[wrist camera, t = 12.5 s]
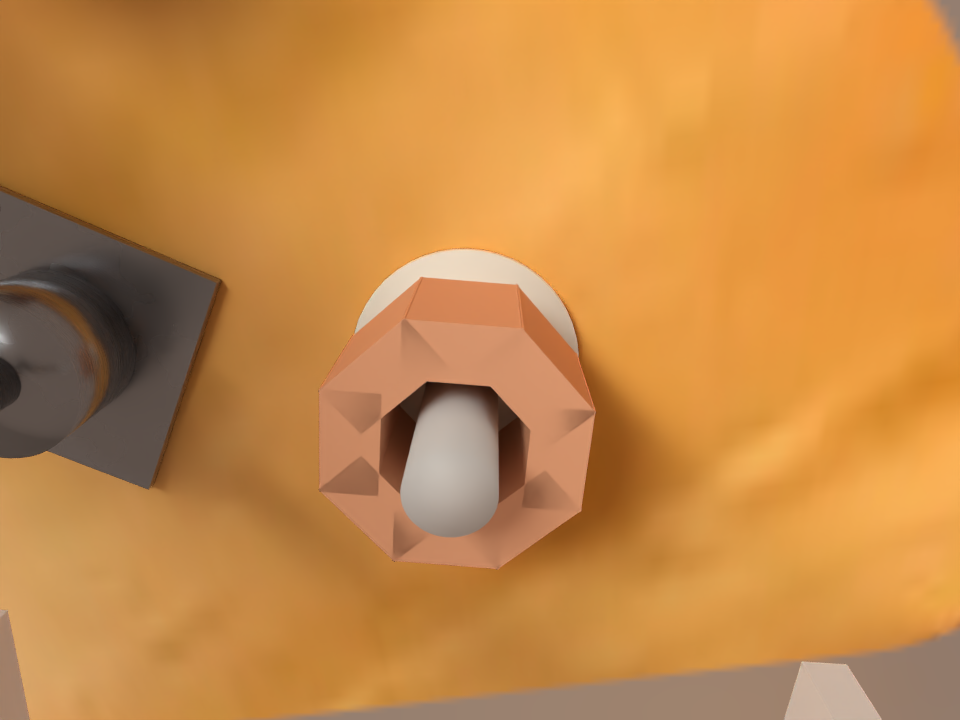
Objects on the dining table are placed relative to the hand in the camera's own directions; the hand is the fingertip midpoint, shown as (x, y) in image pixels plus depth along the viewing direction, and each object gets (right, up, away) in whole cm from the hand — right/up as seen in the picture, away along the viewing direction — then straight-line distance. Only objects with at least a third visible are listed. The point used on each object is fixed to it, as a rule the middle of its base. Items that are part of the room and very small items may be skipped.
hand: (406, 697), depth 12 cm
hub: (+1, +6, +16) cm, 17 cm away
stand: (-16, +7, +17) cm, 24 cm away
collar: (+1, +5, +14) cm, 14 cm away
